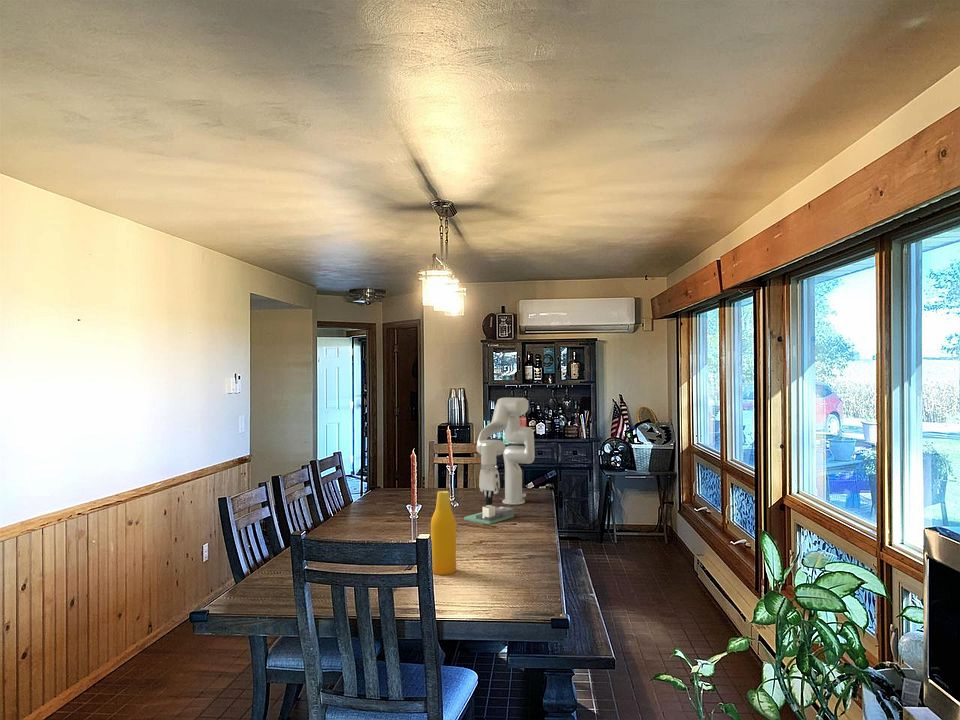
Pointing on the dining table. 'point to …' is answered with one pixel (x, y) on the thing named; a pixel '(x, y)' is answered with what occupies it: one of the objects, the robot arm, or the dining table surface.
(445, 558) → the beer bottle
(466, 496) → the dining table surface
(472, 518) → the board
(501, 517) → the header
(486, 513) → the plug
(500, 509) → the fan
